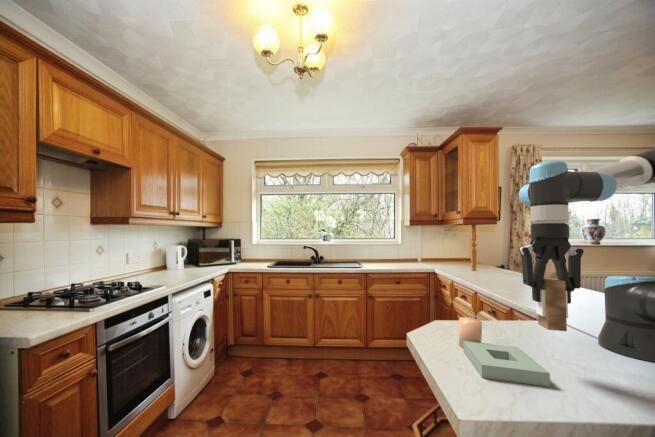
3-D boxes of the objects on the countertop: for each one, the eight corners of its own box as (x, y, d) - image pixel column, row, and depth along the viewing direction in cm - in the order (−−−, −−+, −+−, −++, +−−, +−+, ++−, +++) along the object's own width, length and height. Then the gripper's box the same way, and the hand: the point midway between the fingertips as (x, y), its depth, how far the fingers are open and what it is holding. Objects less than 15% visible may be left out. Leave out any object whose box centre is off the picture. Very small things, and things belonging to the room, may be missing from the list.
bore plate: (517, 358, 73) (517, 346, 73) (549, 386, 59) (549, 373, 59) (463, 351, 75) (463, 341, 76) (481, 377, 62) (481, 364, 62)
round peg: (477, 344, 81) (477, 318, 82) (484, 352, 75) (485, 324, 76) (456, 342, 82) (456, 316, 83) (462, 350, 76) (462, 322, 77)
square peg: (555, 325, 67) (554, 278, 68) (566, 331, 63) (565, 281, 64) (538, 324, 68) (537, 277, 69) (547, 329, 64) (546, 280, 65)
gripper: (577, 223, 69) (580, 313, 68) (505, 223, 72) (506, 308, 71) (600, 222, 62) (604, 323, 60) (519, 222, 65) (521, 317, 64)
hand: (551, 315), depth 66 cm, fingers closed on square peg, 4 cm apart
